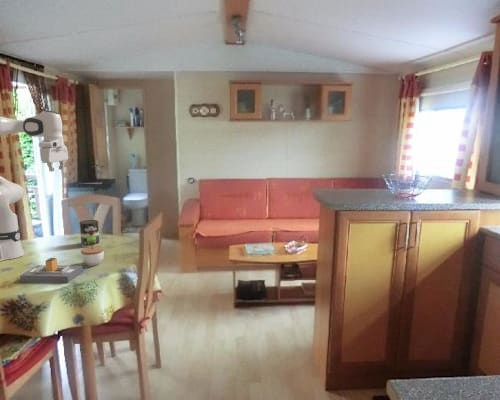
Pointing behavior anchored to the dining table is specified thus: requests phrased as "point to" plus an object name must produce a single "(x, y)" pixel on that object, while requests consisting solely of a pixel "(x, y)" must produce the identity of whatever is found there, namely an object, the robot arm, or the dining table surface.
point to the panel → (51, 274)
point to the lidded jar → (92, 255)
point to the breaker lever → (51, 264)
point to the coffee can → (89, 233)
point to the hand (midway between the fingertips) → (56, 170)
